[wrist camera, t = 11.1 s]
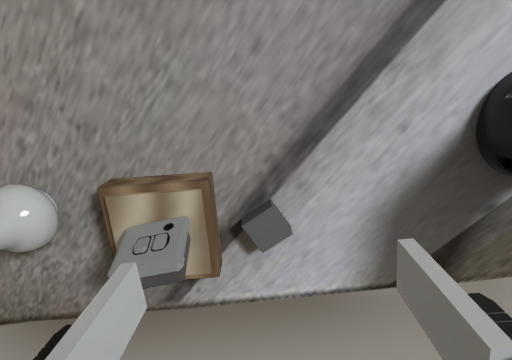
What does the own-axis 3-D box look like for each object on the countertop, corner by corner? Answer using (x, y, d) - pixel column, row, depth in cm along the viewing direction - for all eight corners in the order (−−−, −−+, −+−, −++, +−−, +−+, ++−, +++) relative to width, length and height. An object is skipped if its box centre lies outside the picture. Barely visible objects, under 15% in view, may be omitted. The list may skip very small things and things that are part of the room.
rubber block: (270, 198, 45) (271, 206, 42) (290, 224, 46) (292, 234, 43) (242, 217, 46) (241, 226, 43) (262, 242, 47) (262, 253, 44)
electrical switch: (189, 213, 40) (176, 253, 32) (199, 243, 42) (188, 287, 34) (127, 225, 41) (99, 267, 33) (139, 254, 42) (115, 300, 35)
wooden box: (211, 172, 43) (207, 182, 39) (222, 261, 47) (219, 279, 43) (110, 178, 43) (94, 190, 39) (130, 267, 48) (117, 285, 43)
